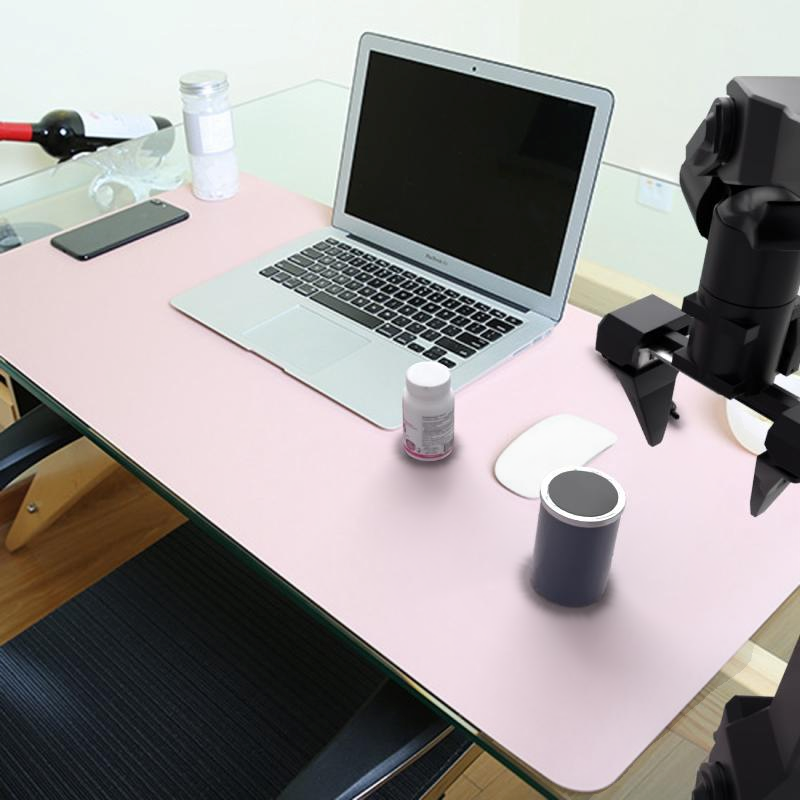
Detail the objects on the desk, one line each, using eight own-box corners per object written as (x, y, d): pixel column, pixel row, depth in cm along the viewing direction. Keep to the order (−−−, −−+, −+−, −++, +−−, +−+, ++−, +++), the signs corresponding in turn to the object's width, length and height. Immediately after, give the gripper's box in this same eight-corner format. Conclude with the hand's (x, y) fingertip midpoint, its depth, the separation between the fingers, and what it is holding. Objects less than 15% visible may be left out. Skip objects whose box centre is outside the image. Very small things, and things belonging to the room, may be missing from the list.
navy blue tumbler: (625, 586, 75) (644, 500, 70) (566, 621, 72) (582, 533, 67) (569, 540, 79) (584, 455, 74) (512, 571, 76) (522, 484, 71)
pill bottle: (396, 436, 91) (394, 363, 86) (443, 426, 92) (444, 354, 87) (412, 467, 87) (411, 393, 82) (461, 457, 88) (463, 383, 83)
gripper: (969, 307, 56) (891, 504, 65) (715, 198, 68) (680, 376, 77) (854, 372, 51) (787, 575, 60) (602, 242, 63) (579, 427, 72)
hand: (703, 477), depth 67 cm, fingers open, 9 cm apart
